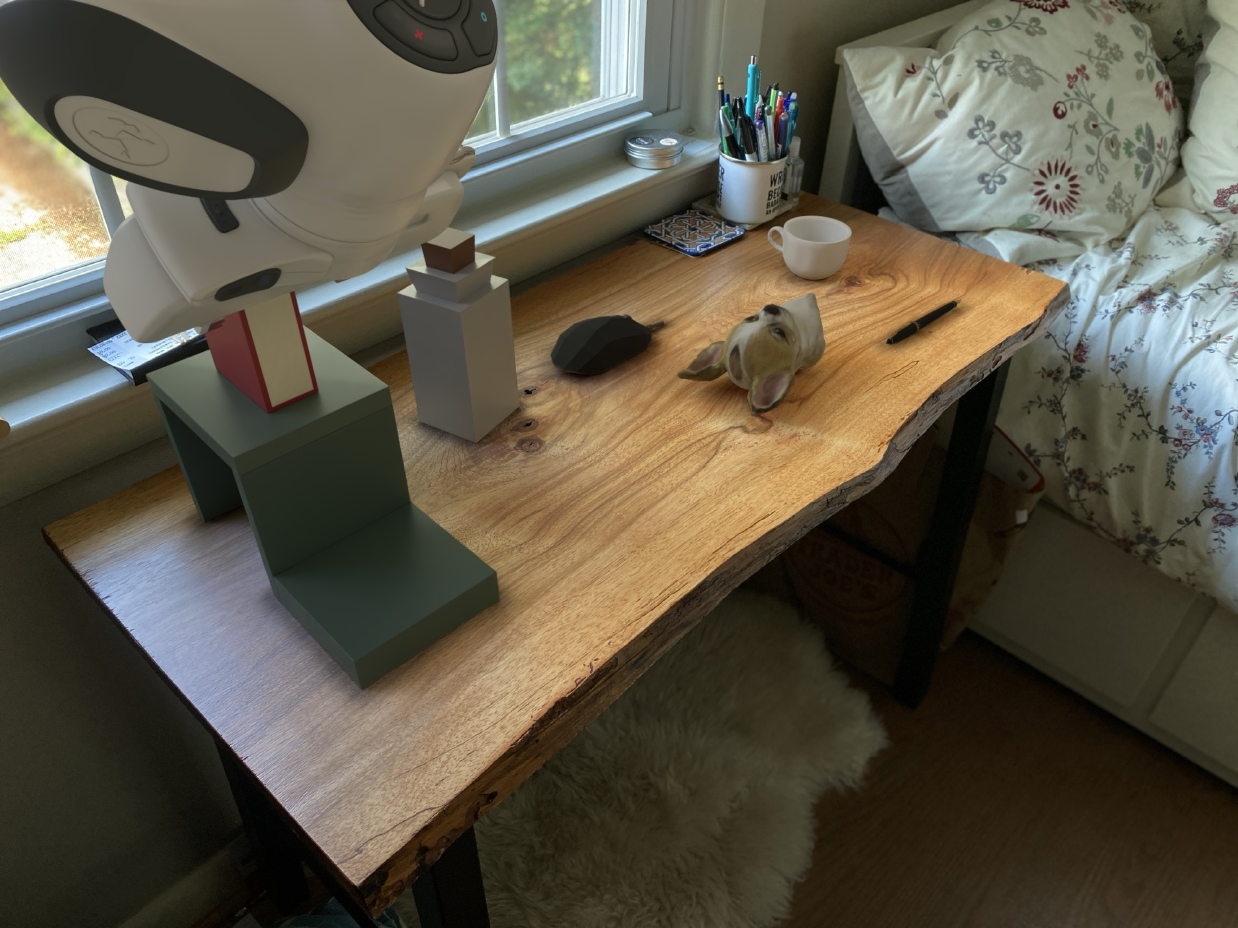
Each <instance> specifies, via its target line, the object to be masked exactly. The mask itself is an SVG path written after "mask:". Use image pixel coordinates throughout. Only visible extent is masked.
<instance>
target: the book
mask: <svg viewBox="0 0 1238 928" xmlns="http://www.w3.org/2000/svg"><path fill="white" fill-rule="evenodd" d="M222 324H223V326H222V327H219V328H217V329H214V330H212V331H209V332H206V333H204V336H205V339H206V342H207V345H208V346H207V347H208V348H209V349H208V350H210V352H211V355H212V358H213V361H214V364H215V367H216V369H217V370H218V371H219V372H220V373H221V374H222V375H224V376H225V377H226V378H227V379H228V380H229V381H231V382H232V383H233V384H234V385H235V386H237V387H238V388H239V389H240V390H241V391H242V392H244V393H245V394H246V395H247V396H248V397H249V398H251V399H252V400H253V401H254V402H255V403H257V404H258V405H259V406H260V407H261V408H262V409H264V410H265V411H266V412H267V413H271V412H273V411H275V410H277V409H280V408H282V407H284V406H286V405H289V404H291V403H293V402H296V401H298V400H300V399H302V398H305V397H307V396H309V395H311V394H314V393H316V392H318V391H319V389H318V385H317V381H316V377H315V373H314V369H313V365H312V360H311V356H310V352H309V348H308V344H307V340H306V336H305V332H304V328H303V325H304V324H303V320H302V316H301V312H300V308H299V303H298V299H297V295H296V290H295V291H292V292H290V293H287V294H284V295H282V296H279V297H276V298H273V299H271V300H268V301H265V302H263V303H260V304H257V305H254V306H252V307H249V308H246V309H244V310H241V311H238V312H235V313H233V314H230V315H227V316H225V321H224V322H223V323H222Z"/></svg>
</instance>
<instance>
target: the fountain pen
mask: <svg viewBox="0 0 1238 928" xmlns="http://www.w3.org/2000/svg"><path fill="white" fill-rule="evenodd" d="M962 301H963V298H961V299H956V300H952V301H950V302H948V303H946V304H944V305H942V306H940V307H938V308H936V309H934V310H932V311H930V312H929V313H927V314H924V315H923V316H921V317H920V318H918V319H916V320H907V321H906V322H905V323H903V324H902V325H899V326H898V327H897V328H896V329H894V330H893V331H892V332H891V333H889V334H888V338H887V339H886V343H885V344H886V345H890V346H891V345H895V344H897V343H900V342H901V341H904V340H907V338H909V337H911V336H913V335H914V334H916V333H919V332H920V331H921V330H922V329H923V328H925V327H927V326H929V325H930V324H932V323H933V322H935V321H936V320H938V319H940V318H941V317H943V316H944V315H946V314H947V313H949V312H950V311H952V310H953V309H955V308H957V307H958V305H959V304H961V302H962Z"/></svg>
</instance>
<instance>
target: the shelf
mask: <svg viewBox="0 0 1238 928" xmlns="http://www.w3.org/2000/svg"><path fill="white" fill-rule="evenodd" d="M303 328H304V332H305V336H306V340H307V344H308V348H309V352H310V356H311V360H312V365H313V369H314V373H315V377H316V381H317V385H318V389H319V391H318V392H316V393H314V394H311V395H309V396H307V397H305V398H302V399H300V400H298V401H296V402H293V403H291V404H289V405H286V406H284V407H282V408H280V409H277V410H275V411H273V412H271V413H267V412H266V411H265V410H264V409H262V408H261V407H260V406H259V405H258V404H257V403H255V402H254V401H253V400H252V399H251V398H249V397H248V396H247V395H246V394H245V393H244V392H242V391H241V390H240V389H239V388H238V387H237V386H235V385H234V384H233V383H232V382H231V381H229V380H228V379H227V378H226V377H225V376H224V375H222V374H221V373H220V372H219V371H218V370H217V369H216V367H215V364H214V361H213V358H212V355H211V352H210V349H207V350H205V351H203V352H200V353H197V354H194V355H192V356H190V357H186V358H184V359H182V360H179V361H176V362H174V363H172V364H171V363H170V364H169V365H166V366H164V367H161V368H159V369H156V370H153V371H151V372H148V373H146V374H145V377H146V379H147V382H148V385H149V387H150V390H151V392H152V395H153V398H154V400H155V404H156V406H157V408H158V412H159V415H160V417H161V419H162V421H163V425H164V427H165V430H166V432H167V434H168V438H169V441H170V444H171V446H172V448H173V451H174V453H175V456H176V459H177V462H178V464H179V467H180V469H181V472H182V475H183V477H184V481H185V483H186V485H187V486H186V487H187V489H188V490H189V493H190V496H191V499H192V501H193V504H194V507H195V510H196V512H197V515H198V517H199V518H200V519H201V520H202V521H203V522H204V523H207V522H209V521H211V520H213V519H215V518H218V517H220V516H222V515H224V514H226V513H227V512H230V511H232V510H234V509H236V508H238V507H240V506H242V505H243V507H244V510H245V513H246V516H247V519H248V522H249V526H250V529H251V531H252V535H253V537H254V541H255V543H256V546H257V549H258V552H259V555H260V559H261V561H262V564H263V567H264V570H265V573H266V576H267V579H268V582H269V585H270V588H271V591H272V594H273V596H274V598H275V599H276V600H277V601H278V602H279V603H280V604H281V605H282V606H283V608H284V609H285V610H286V611H287V612H288V613H289V614H290V616H292V618H293V619H295V620H296V622H297V623H299V625H300V626H301V627H302V628H303V629H304V630H305V631H306V632H307V633H308V634H309V635H310V636H311V638H312V639H313V640H314V641H315V642H316V643H317V644H318V645H319V646H320V647H321V648H322V649H323V650H324V652H325V653H326V654H327V655H328V656H329V657H330V658H331V659H332V660H333V661H334V662H335V663H336V664H337V665H338V667H340V668H341V669H342V671H343V672H344V673H345V674H346V675H347V676H348V677H349V678H350V680H352V681H353V682H354V683H355V685H356V686H357V687H358V688H359V689H360V690H361V691H363V690H365V689H367V688H368V687H369V686H371V685H372V684H374V683H376V682H377V681H378V680H380V679H381V678H383V677H385V676H386V675H388V674H389V673H391V672H393V670H395V669H397V668H398V667H400V666H401V665H403V664H404V663H406V662H408V661H409V660H410V659H412V658H414V657H415V656H417V655H418V654H420V653H421V652H423V651H424V650H426V649H428V648H429V647H430V646H432V645H433V644H435V643H436V642H438V641H440V640H441V639H442V638H444V637H446V636H448V635H449V634H450V633H452V632H453V631H455V630H456V629H458V628H459V627H461V626H463V625H464V624H466V623H467V622H469V621H470V620H471V619H473V618H475V617H476V616H478V615H479V614H481V613H482V612H484V611H485V610H487V609H489V608H490V607H491V606H493V605H495V604H496V603H498V602H499V601H501V597H500V587H499V580H498V572H497V571H496V570H495V569H494V568H493V567H491V566H490V565H489V564H488V563H487V562H486V561H484V560H483V559H481V557H479V556H478V555H477V554H476V553H475V552H473V551H472V550H470V549H469V548H468V547H467V546H466V545H465V544H463V543H462V542H461V541H460V540H459V539H458V538H456V537H455V536H454V535H452V534H451V533H450V532H449V531H447V530H446V529H445V528H444V527H443V526H442V525H440V524H439V523H438V522H437V521H435V520H434V519H433V518H432V517H430V516H429V515H428V514H427V513H425V512H424V511H423V510H422V509H421V508H419V507H418V506H417V505H416V504H415V503H413V502H412V501H411V495H410V491H409V485H408V479H407V474H406V470H405V469H406V468H405V463H404V458H403V452H402V448H401V441H400V436H399V431H398V426H397V420H396V415H395V410H394V405H393V399H392V393H391V389H390V385H388V384H387V383H385V382H383V381H382V380H381V379H379V377H377V376H376V375H374V374H373V373H371V372H370V371H368V370H367V369H365V368H364V367H362V366H361V365H360V364H358V363H357V362H356V361H355V360H353V359H351V358H350V357H349V356H347V355H346V354H344V353H343V352H342V351H341V350H339V349H338V348H336V347H335V346H333V345H332V344H331V343H329V342H328V341H326V340H325V339H323V338H322V337H321V336H319V335H318V334H317V333H315V332H313V331H312V329H310V328H308V327H306V326H305V325H304V324H303Z"/></svg>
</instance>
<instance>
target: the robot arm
mask: <svg viewBox="0 0 1238 928" xmlns="http://www.w3.org/2000/svg"><path fill="white" fill-rule="evenodd" d="M499 35H500V34H499V25H498V17H497V11H496V6H495V3H494V0H0V79H1V81H2V83H3V85H4V86H5V87H6V89H7V90H8V91H9V93H10V94H11V95H12V96H13V98H14V99H15V100H16V101H17V103H18V104H19V105H20V106H21V107H22V109H23V110H24V111H25V112H26V113H27V114H28V115H29V116H30V117H31V118H32V119H33V120H34V121H35V122H36V123H37V124H38V125H40V126H41V128H43V129H44V131H46V132H47V133H48V134H49V135H51V136H52V137H53V138H54V139H55V140H56V141H57V142H59V143H60V144H61V145H62V146H64V147H65V148H66V149H67V150H68V151H70V152H71V153H72V154H74V156H76V157H78V159H80V160H82V161H83V162H85V163H86V164H88V165H90V166H91V167H93V168H95V169H97V170H99V171H101V172H103V173H105V174H107V175H109V176H112V177H114V178H118V179H121V180H123V181H126V182H127V183H126V185H125V195H126V196H125V197H126V198H127V201H128V203H129V205H130V208H131V210H132V213H131V214H130V215H128V216H127V217H126V218H125V219H123V221H122V222H121V223H120V224H119V225H118V227H117V228H116V230H115V231H114V234H113V235H112V238H111V241H110V244H109V247H108V250H107V254H106V258H105V264H104V269H103V270H104V271H103V283H102V284H103V289H104V293H105V295H106V298H107V300H108V301H109V304H110V305H111V307H112V309H113V311H114V312H115V314H116V316H117V318H118V320H119V321H120V323H121V325H122V326H123V328H124V329H125V330H126V333H128V335H129V337H130V338H131V339H132V340H133V341H135V342H136V343H138V344H153V343H157V342H160V341H163V340H165V339H168V338H170V337H174V336H176V335H178V334H181V333H184V332H186V331H189V330H192V329H193V330H194V331H195V332H196V334H197V335H199V336H201V335H205V333H206V332H209V331H212V330H214V329H217V328H219V327H222V326H223V324H222V323H223V322H224V321H225V316H227V315H230V314H233V313H235V312H238V311H241V310H244V309H246V308H249V307H252V306H254V305H257V304H260V303H263V302H265V301H268V300H271V299H273V298H276V297H279V296H282V295H284V294H287V293H290V292H292V291H295V292H296V291H297V290H301V289H304V288H306V287H309V286H311V285H314V284H318V283H320V282H322V281H333V282H335V283H337V284H339V283H342V282H345V281H347V280H351V279H354V278H357V277H361V276H362V275H365V274H368V273H369V272H370V271H372V270H374V269H375V268H377V267H378V266H380V264H381V263H383V262H384V261H385V260H386V258H388V257H390V256H393V255H396V254H398V253H401V252H404V251H407V250H409V249H412V248H415V247H416V246H419V245H420V246H421V244H423V243H426V242H428V241H430V240H432V239H434V238H435V237H437V236H438V235H440V234H441V233H442V232H444V231H445V230H446V229H447V228H448V227H449V226H450V225H451V223H452V222H453V220H454V218H455V217H456V215H457V213H458V211H459V209H460V207H461V205H462V202H463V201H464V198H465V192H466V191H465V187H464V186H463V183H462V181H461V180H462V179H463V178H464V177H465V176H466V175H467V174H468V173H469V171H470V169H472V167H473V165H474V164H475V162H476V160H477V155H476V149H474V147H472V146H471V145H463V143H464V142H465V140H466V138H467V137H468V135H469V133H470V131H471V129H472V127H473V125H474V124H475V121H476V119H477V117H478V116H479V113H480V111H481V109H482V108H483V105H484V103H485V100H486V98H487V96H488V94H489V91H490V88H491V86H492V84H493V80H494V77H495V73H496V69H497V66H498V58H499V51H500V36H499Z"/></svg>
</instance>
